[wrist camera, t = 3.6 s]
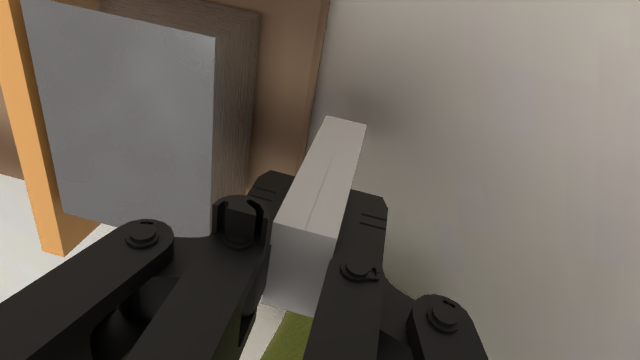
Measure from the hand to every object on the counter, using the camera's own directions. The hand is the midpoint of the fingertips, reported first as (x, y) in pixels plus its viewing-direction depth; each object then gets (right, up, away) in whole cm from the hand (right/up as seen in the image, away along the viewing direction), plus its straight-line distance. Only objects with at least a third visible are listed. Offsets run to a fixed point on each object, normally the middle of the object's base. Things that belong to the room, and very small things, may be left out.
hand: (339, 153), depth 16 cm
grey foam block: (-6, +2, +2) cm, 7 cm away
